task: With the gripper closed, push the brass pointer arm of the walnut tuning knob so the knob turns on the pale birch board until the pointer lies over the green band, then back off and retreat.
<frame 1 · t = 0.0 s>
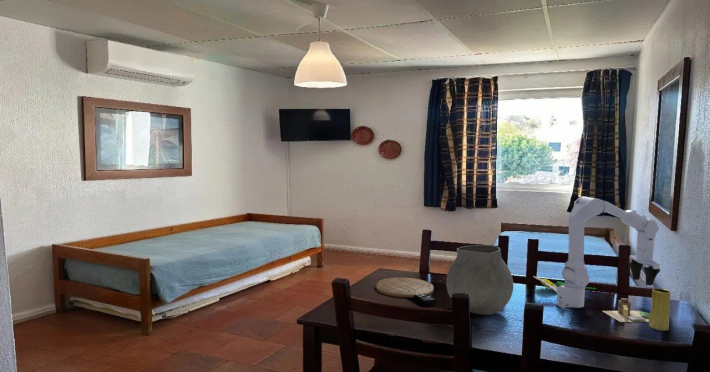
hand: (642, 282, 186), 10 cm above the table, fingers open, 7 cm apart
trivet: (404, 290, 205), on the table
tuning knob: (624, 308, 173), point 4 cm above the table, hinge at 0.0°
tuner board: (630, 319, 173), on the table
vase: (658, 331, 162), on the table
decorative flower: (565, 291, 207), on the table
ceramic pot: (478, 312, 178), on the table
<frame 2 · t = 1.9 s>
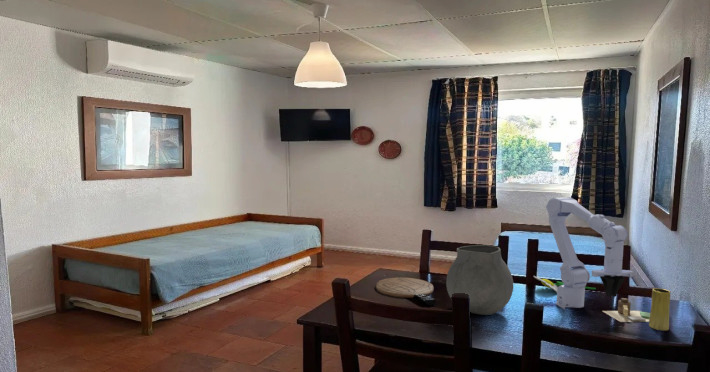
hand: (611, 295, 170), 9 cm above the table, fingers closed
nothing on the table moved.
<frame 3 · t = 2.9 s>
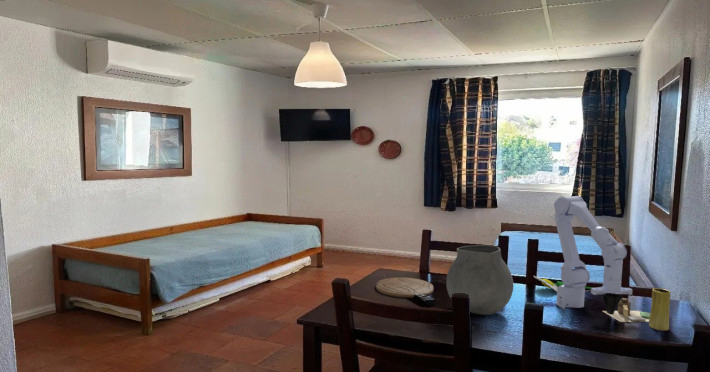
hand: (610, 313, 170), 3 cm above the table, fingers closed
nothing on the table moved.
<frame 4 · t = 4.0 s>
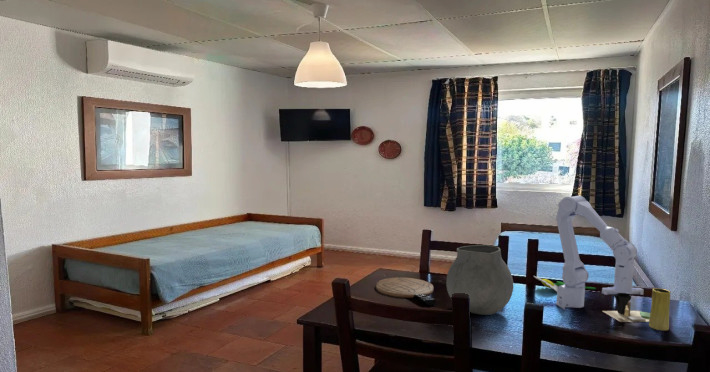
hand: (621, 313, 171), 3 cm above the table, fingers closed, pressing on tuning knob
tuning knob: (625, 308, 173), point 4 cm above the table, hinge at 1.8°, touching gripper
everything else where it was.
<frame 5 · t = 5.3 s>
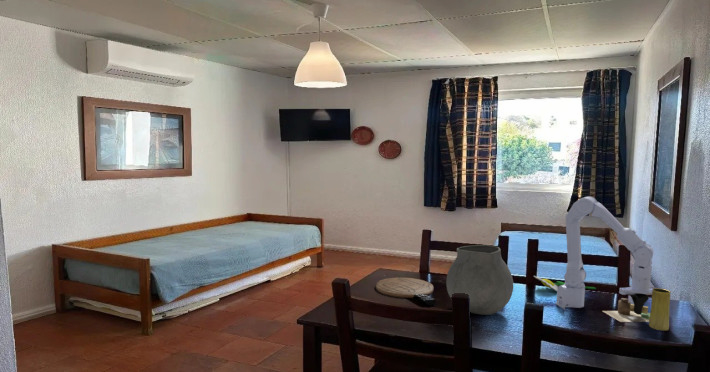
hand: (637, 313, 171), 3 cm above the table, fingers closed, pressing on tuning knob
tuning knob: (632, 307, 174), point 4 cm above the table, hinge at 84.5°, touching gripper
everything else where it was.
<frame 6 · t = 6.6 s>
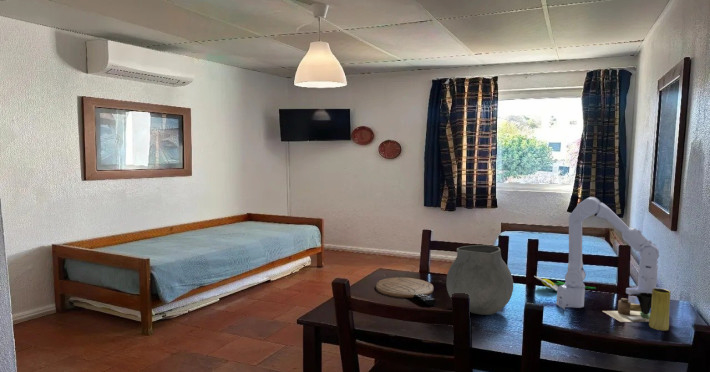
hand: (644, 313, 171), 3 cm above the table, fingers closed
tuning knob: (632, 306, 175), point 4 cm above the table, hinge at 101.7°
everything else where it was.
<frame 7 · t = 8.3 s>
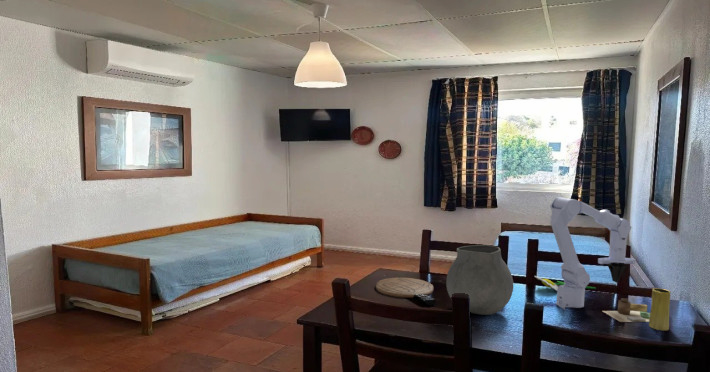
hand: (615, 281, 187), 10 cm above the table, fingers closed
tuning knob: (632, 306, 175), point 4 cm above the table, hinge at 102.2°
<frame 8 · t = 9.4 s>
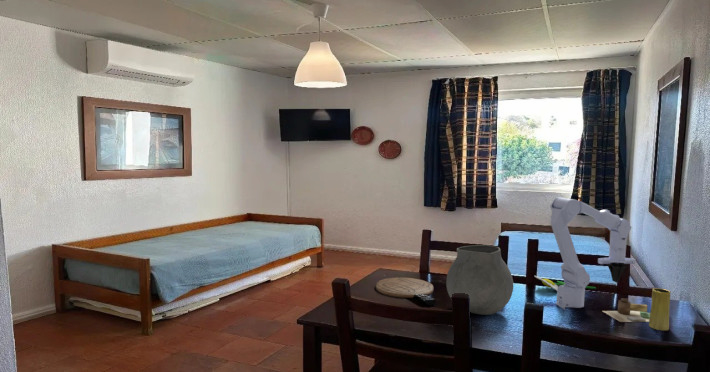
hand: (615, 281, 187), 10 cm above the table, fingers closed
at the end: tuning knob at +102° (first picture: +0°); tuning knob touching nothing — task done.
